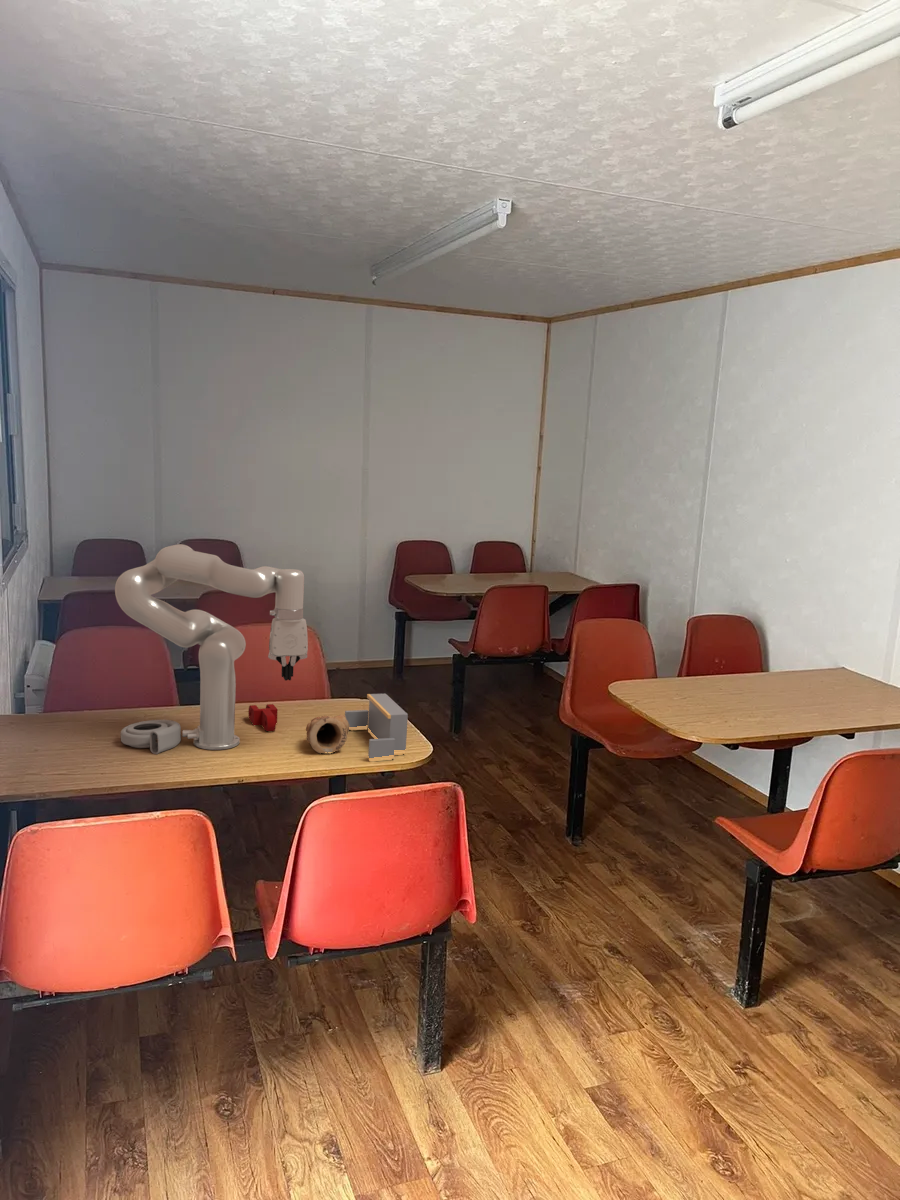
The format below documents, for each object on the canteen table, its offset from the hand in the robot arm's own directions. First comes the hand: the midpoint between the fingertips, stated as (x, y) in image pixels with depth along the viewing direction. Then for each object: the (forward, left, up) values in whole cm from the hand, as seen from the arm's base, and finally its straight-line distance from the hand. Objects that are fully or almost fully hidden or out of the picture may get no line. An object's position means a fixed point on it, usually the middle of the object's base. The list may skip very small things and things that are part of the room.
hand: (287, 679), depth 242 cm
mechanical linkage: (-2, +23, -21) cm, 31 cm away
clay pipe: (+13, +1, -21) cm, 24 cm away
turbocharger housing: (-35, +11, -21) cm, 42 cm away
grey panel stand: (+27, 0, -20) cm, 33 cm away
